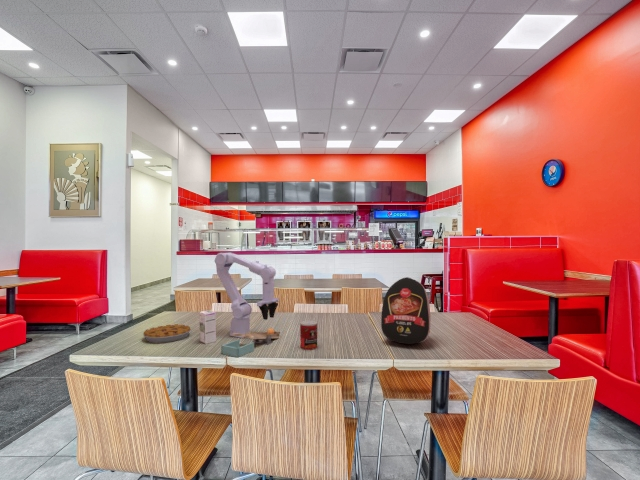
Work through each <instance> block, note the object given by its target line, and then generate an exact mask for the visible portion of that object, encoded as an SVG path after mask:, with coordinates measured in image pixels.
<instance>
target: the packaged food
mask: <svg viewBox="0 0 640 480" xmlns="http://www.w3.org/2000/svg"><path fill="white" fill-rule="evenodd" d="M380 321H381V322H380V323H381V326H380V327H381V332H382V334H383V335H384V337H385V338H387V339H388V340H390V341H393V342H396V343H400V344H406V345H412V344H418V343H419V344H420V343H423V342H425V341H427V339H428V337H429V335H430V334H431V306H430V300H429V296H428V292H427V290H426V289H425V287H424V285H423V284H421V282H419V281H418V280H415V279H413V278H411V277H409V276H407V277H403V278H400V279H398V280H396V281H395V282H394V283H393V284H392V285H391V286H389V288H388V289H387V291H386V293H385V296H384V298H383V302H382V308H381V320H380Z"/></svg>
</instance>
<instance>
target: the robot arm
mask: <svg viewBox="0 0 640 480" xmlns="http://www.w3.org/2000/svg"><path fill="white" fill-rule="evenodd" d="M214 263H215V268H216V274H217V276H218V279H219V280H220V282H221V283H222V285H223V288H224V291H226V293H227V296H228V298H229V300H230V301H231V306H230V309H231V310H232V312H231V313H232V316H233V318H232V319H231V320H230V333H229V336H230V337H234V338H235V337H236V338H241V339H244V338H245V337H241V336H236V335H232V333H238V334H243V335H245V333H251V331H250V330H251V329H250V324H251V323H250V317H251V316H250V314H251V313H252V311H253V309H252V306H251V304H250V303H248V301H247V300H246V299H245V298H243V297H242V295H241V294H240V292H239V289H238V288H237V285H236V284H235V281H234V280H233V278H232V276H231V274H230V273H229V272H230V268H231V267H232V266H233V264H234V263H235V264H237V265H240V266H242V267H243V266H244V267H246V268H248V271H249V272H251V273H253V274H255V275H257V276H259V277H261V279H262V299H261V300H260V301H257V302H256V306H257V307H258V309H259V310H260V312H261V315H262V318H263V320H265V321H267V320H268V319H269V318H272V319H273V318H274V317H275V314H276V310H277V307H278V306H279V303H278V302H280V298H279V297H275V276H276V274H277V272H276V271H277V270H276V269H275V268H274V267H273V266H268V265H267V264H262V263H260V261H259V260H254V261H251V260H248V259H246V258H245V257H242V256H240V255H239V254H236V253H233V252H230V251H228V252H218V253H217V254H216V256H215V258H214Z"/></svg>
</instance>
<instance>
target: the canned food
mask: <svg viewBox="0 0 640 480" xmlns="http://www.w3.org/2000/svg"><path fill="white" fill-rule="evenodd" d="M299 324H300V326H299V328H300V332H299V333H300V334H299V335H300V337H299V341H300V348H301V349H303V350H307V351H308V350H315V349H316V348H318V322H317V321H315V320H303V321H300V323H299Z"/></svg>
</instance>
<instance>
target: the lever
mask: <svg viewBox="0 0 640 480" xmlns="http://www.w3.org/2000/svg"><path fill="white" fill-rule="evenodd" d="M232 335H236V336H241V337H244V338H247V339H253V340H254V339H266V337H267V336H271V339H280V336H281V335H280V332H279V331H275V330H274V334H267V331H266V332H264V331H263V332H250V333H245V335H243V334H238V333H232Z"/></svg>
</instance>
